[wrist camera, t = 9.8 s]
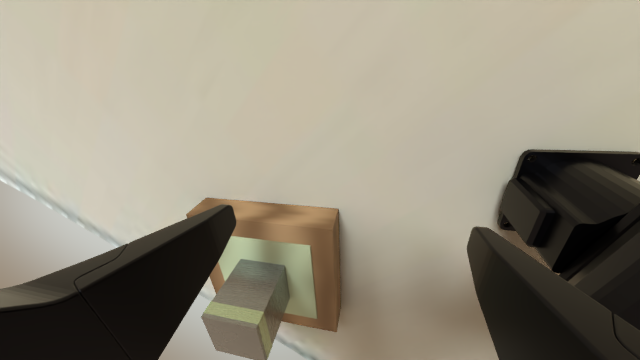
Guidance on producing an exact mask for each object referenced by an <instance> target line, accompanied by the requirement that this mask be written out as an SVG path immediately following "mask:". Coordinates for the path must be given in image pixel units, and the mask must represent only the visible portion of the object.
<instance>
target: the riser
mask: <svg viewBox="0 0 640 360" xmlns="http://www.w3.org/2000/svg"><path fill="white" fill-rule="evenodd" d="M221 204H228V205H231V206H232V207H233V210H234V214H235V217H236V227H235V229H234V231H233V233H232V235H231V237H230V239H229V241H228V244H227V246H226V248H225V250H224V252H223V254H222V256H221V258H220V259H219V261H218V263H217V264H216V266H215V268H214V269H213V271H212V273H211V274H210V279H211V281H212V284H213V286H214V289H215V292H216V294H217V293H218V291H219V290H220V288H221V287H222V285H223V284H224V283H225V281H226V280H227V278H228V277H229V275H230V274H231V272H232V271H233V269H234V268H235V266H236V265H237V263H238V262H239V261H240V259H246V260H253V261H259V262H266V263H273V264H279V265H285V269H286V275H287V281H288V288H289V294H290V299H289V302H288V305H287V307H286V310H285V313H284V315H283V318H282V321H283V322H288V323H293V324H298V325H303V326H308V327H313V328H318V329H323V330H328V331H333V332H337V327H338V321H339V315H340V309H341V295H340V255H339V215H338V209H334V208H322V207H310V206H298V205H286V204H274V203H262V202H250V201H238V200H226V199H214V198H205V199H204V200H203V201H202V202H201V203H199V204H198V205H197V206H196V207H195V208H193V209H192V210H191V211H190V212H189V213H187V214H186V215H187V218H190V217H192V216H194V215H197V214H199V213H201V212H204V211H206V210H209V209H211V208H213V207H216V206H218V205H221Z"/></svg>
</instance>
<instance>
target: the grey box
mask: <svg viewBox="0 0 640 360" xmlns="http://www.w3.org/2000/svg"><path fill="white" fill-rule="evenodd" d="M289 299H290V294H289V288H288V281H287V275H286V269H285V265H279V264H273V263H266V262H259V261H253V260H246V259H240V261H239V262H238V263H237V265H236V266H235V268H234V269H233V271H232V272H231V274H230V275H229V277H228V278H227V280H226V281H225V283H224V284H223V285H222V287H221V288H220V290H219V291H218V293H217V294H216V296H215V297H214V299H213V300H212V301H211V302H210V304H209V306H208V307H207V308H206V310H205V312H204V313H203V315H202V316H201V317H202V319H203V322H204V324H205V326H206V329H207V331H208V333H209V335H210V337H211V340H212V342H213V344H214V347H215V349H216V350H217V351H222V352H225V353H230V354H234V355H238V356H242V357H246V358H250V359H254V360H267V358H268V356H269V353H270V350H271V348H272V344H273V342H274V339H275V337H276V334H277V331H278V329H279V326H280V323H281V321H282V318H283V315H284V313H285V310H286V307H287V305H288V302H289Z"/></svg>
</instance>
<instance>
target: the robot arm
mask: <svg viewBox="0 0 640 360" xmlns="http://www.w3.org/2000/svg"><path fill="white" fill-rule="evenodd" d="M531 155H534V157H533V158H532V159H530V160H528V157H529V156H531ZM636 158H637V160H636V161H635V162H633V163H632V161H633V160H634V159H636ZM639 175H640V153H639V152H617V151H575V150H533V149H532V150H527V151H525V152H524V153H522V155H521V157H520V159H519V162H518V165H517V168H516V171H515V174H514V177H513V178H512V179H511V180H510V181H509V183H508V186H507V189H506V192H505V195H504V198H503V201H502V204H501V207H500V209H501V214H500V216H499V219H498V224H499V226H500V228H502V229H504V230H512V231H517V233H518V234H519V235H520V237H521V238H522V240H523V241H524V242H525V243H526V244H527V246H529V247H534V248H535V249H536V250H537V251H538V253H539V254H540V255H541V257H542V258H543V259H544V261H545V262H546V263H547V265H548V266H549V267H550V269H551V270H552V271H551V270H550V269H548V268H547V267H545V266H544V265H542V264H541V263H539V262H538V261H536V260H535V259H533V258H532V257H531V256H529V255H528V254H526V253H525V252H523V251H522V250H520V249H519V248H517V247H516V246H514V245H513V244H511V243H510V242H508V241H507V240H506V239H504V238H503V237H501V236H500V235H498V234H497V233H495V232H494V231H492V230H491V229H489V228H487V227H474V228H473V229H472V231H471V234H470V238H469V241H468V245H467V253H468V258H469V263H470V267H471V272H472V276H473V281H474V285H475V290H476V294H477V297H478V300H479V303H480V306H481V309H482V312H483V315H484V318H485V320H486V323H487V326H488V329H489V332H490V335H491V338H492V341H493V343H494V346H495V349H496V352H497V355H498V358H499V360H640V182H639V181H638V180H637V178H638V177H639ZM506 222H508V223H507V224H504V223H506ZM235 227H236V217H235V214H234V210H233V207H232V206H231V205H228V204H221V205H218V206H216V207H213V208H211V209H209V210H206V211H204V212H201V213H199V214H197V215H194V216H192V217H190V218H187V219H185V220H182V221H180V222H178V223H175V224H173V225H171V226H168V227H166V228H163V229H161V230H159V231H156V232H154V233H151V234H149V235H147V236H144V237H142V238H140V239H137V240H135V241H132V242H130V243H129V244H125V245H123V246H120V247H118V248H116V249H113V250H111V251H108V252H106V253H103V254H101V255H98V256H96V257H93V258H91V259H88V260H85V261H83V262H80V263H78V264H75V265H72V266H70V267H67V268H64V269H62V270H59V271H56V272H54V273H51V274H48V275H46V276H43V277H40V278H38V279H35V280H32V281H30V282H26V283H23V284H20V285H16V286H13V287H8V288H3V289H0V360H158V359H159V357H160V355H161V354H162V352H163V351H164V349H165V347H166V346H167V344H168V342H169V341H170V339H171V338H172V336H173V334H174V332H175V331H176V329H177V328H178V326H179V324H180V323H181V321H182V320H183V318H184V316H185V315H186V313H187V312H188V310H189V308H190V306H191V305H192V303H193V302H194V300H195V298H196V297H197V295H198V294H199V292H200V290H201V289H202V287H203V286H204V284H205V282H206V281H207V279H208V277H209V276H210V274H211V273H212V271H213V269H214V268H215V266H216V264H217V263H218V261H219V259H220V258H221V256H222V254H223V252H224V250H225V248H226V246H227V244H228V241H229V239H230V237H231V235H232V233H233V231H234V229H235ZM554 272H555V273H554ZM556 273H561V274H560V275H559V276H558V275H557V274H556Z"/></svg>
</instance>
